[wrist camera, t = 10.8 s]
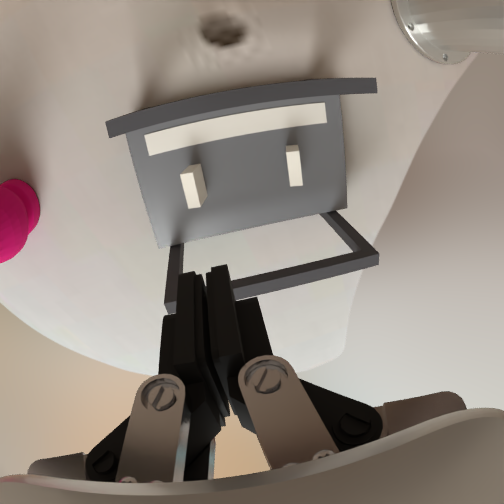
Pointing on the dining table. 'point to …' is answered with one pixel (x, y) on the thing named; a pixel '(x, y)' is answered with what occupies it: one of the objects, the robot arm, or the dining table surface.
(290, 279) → the dark grey open frame
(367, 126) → the dining table surface
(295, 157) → the cream cuboid
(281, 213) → the breaker panel
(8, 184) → the pepper mill
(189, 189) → the paddle
